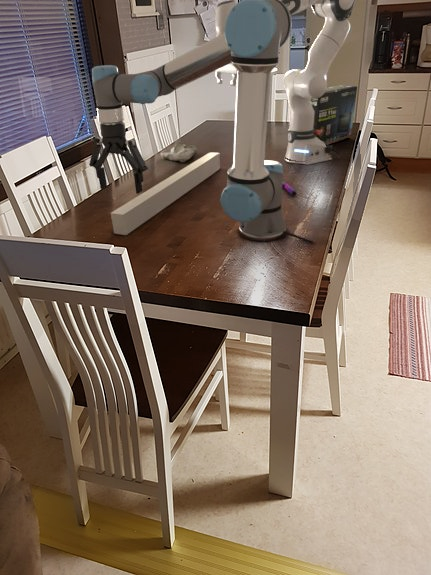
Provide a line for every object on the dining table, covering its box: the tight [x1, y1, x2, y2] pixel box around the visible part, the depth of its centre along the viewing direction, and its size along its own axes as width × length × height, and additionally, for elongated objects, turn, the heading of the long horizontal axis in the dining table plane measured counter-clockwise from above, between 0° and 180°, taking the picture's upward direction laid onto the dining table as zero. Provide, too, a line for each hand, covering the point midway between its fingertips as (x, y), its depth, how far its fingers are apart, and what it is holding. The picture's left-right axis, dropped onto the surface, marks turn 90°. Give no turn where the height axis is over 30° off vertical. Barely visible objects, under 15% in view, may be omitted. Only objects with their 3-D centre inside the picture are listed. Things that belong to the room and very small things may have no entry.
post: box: [110, 151, 221, 236], centre depth 181 cm, size 78×5×7 cm, turn 156°
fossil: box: [160, 142, 199, 163], centre depth 229 cm, size 18×11×15 cm
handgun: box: [282, 179, 297, 197], centre depth 185 cm, size 21×8×2 cm, turn 11°
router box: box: [310, 84, 358, 144], centre depth 238 cm, size 36×11×27 cm, turn 134°
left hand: (121, 190), depth 150 cm, fingers open, 13 cm apart
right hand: (226, 84), depth 193 cm, fingers open, 8 cm apart
